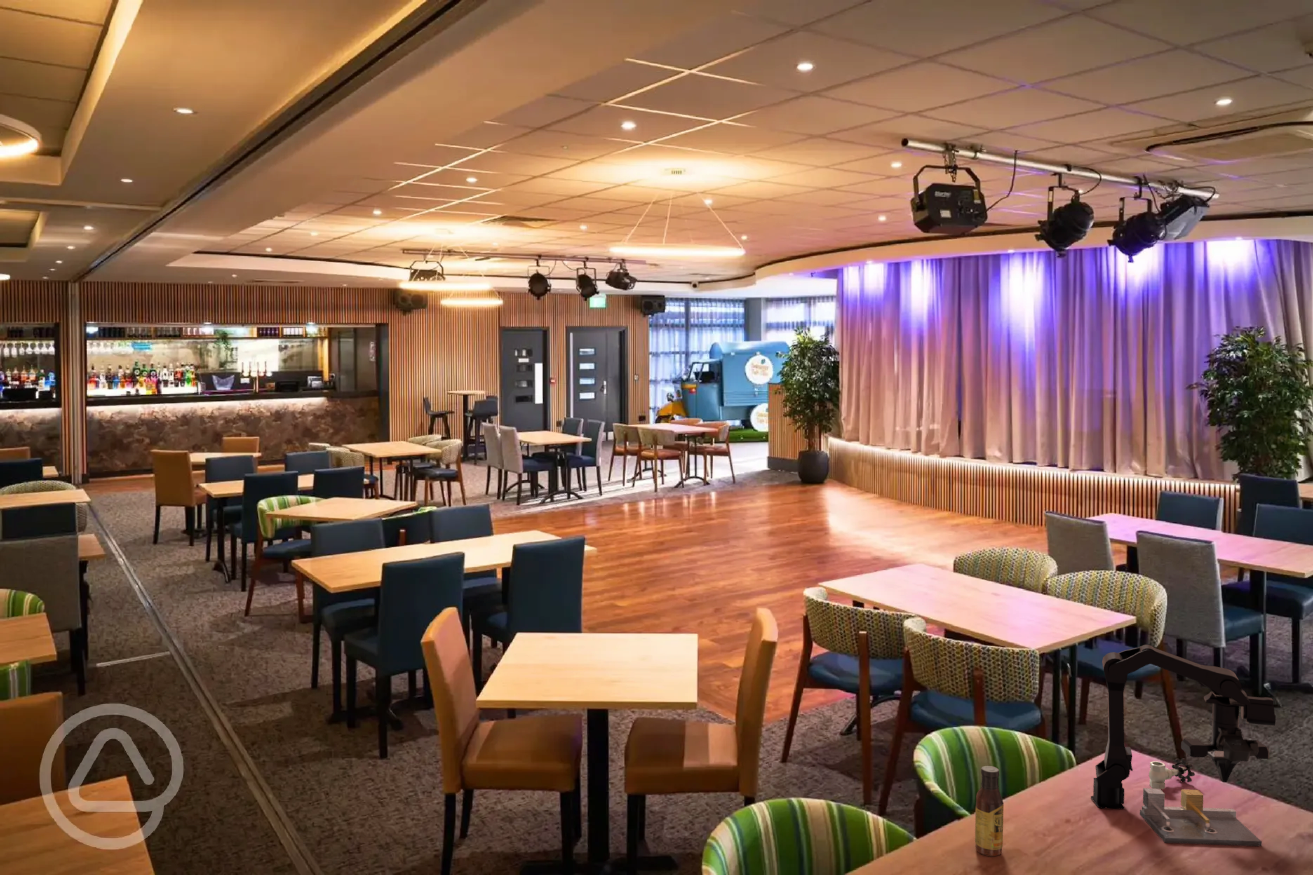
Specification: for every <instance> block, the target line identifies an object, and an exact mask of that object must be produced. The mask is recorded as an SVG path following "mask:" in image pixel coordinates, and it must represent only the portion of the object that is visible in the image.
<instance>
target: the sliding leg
mask: <svg viewBox="0 0 1313 875" xmlns="http://www.w3.org/2000/svg"><path fill="white" fill-rule="evenodd" d="M1180 791H1181V792H1180V805H1181V807H1184V808H1185V809H1186V810H1193V811H1194V812H1195V813H1196V814H1197V815H1198V816H1199V817H1200V818H1201V819H1202V820H1203V821H1204V822H1205V823H1206V830H1209V827H1210V823H1209V821H1210V820H1209V819H1208V818H1207V817H1206V816H1205V815H1204V814H1203V813H1202V812H1201V811H1203V808H1204V794H1203V793H1202V792H1201V791H1200V790H1199V789H1181V790H1180Z"/></svg>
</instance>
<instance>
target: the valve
mask: <svg viewBox="0 0 1313 875" xmlns="http://www.w3.org/2000/svg"><path fill="white" fill-rule="evenodd" d="M1174 762H1175V763H1174V764H1172V765H1171V769H1170V768H1168V767H1166V765H1165V763H1163V762H1161V761H1157V760H1155V761H1150V763H1149V768H1150V769H1149V771H1148V777H1149V786H1150V788H1153V789H1160V790H1161V789H1162V790H1165V789H1166V781H1167V780H1170V779H1171V780H1172V777H1173V776H1174V777H1176V778H1177V777H1178V779H1179V782H1181V781H1182V782H1181V783H1185V782H1187V783H1192V782H1193V779H1192V778H1191V777H1195V772H1194V771H1191V769H1193V764H1191V763H1187V758H1175V759H1174ZM1180 765H1183V766H1180ZM1186 773H1187V775H1186V776H1185V775H1184V774H1186ZM1164 788H1165V789H1164ZM1162 790H1161V791H1162Z"/></svg>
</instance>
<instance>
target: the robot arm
mask: <svg viewBox="0 0 1313 875" xmlns="http://www.w3.org/2000/svg"><path fill="white" fill-rule="evenodd" d="M1101 662H1102V668H1103V673H1104V678H1105V682H1106V683H1105V684H1106V687H1107V719H1108V720H1107V721H1108V722H1107V723H1108V724H1107V725H1108V732H1107V733H1108V739H1107V744H1106V747H1105V752H1104V758H1103V760H1101V761H1100V762H1098V763H1097V764H1096V765H1095V768H1094V769H1095V776H1096V777H1093V788H1092V790H1093V794H1092V795H1091V796H1090V799H1091V801H1092V802H1093V803H1094V804H1095V805H1096V807H1097V808H1098V809H1110V810H1113V809H1114V810H1125V805H1124V804H1125V788H1124V787H1123V783H1122V782H1123V781H1125V780H1127V779H1128V778H1129V777H1130V772H1134V771H1133V770H1134V769H1133V764H1132V761H1133V753H1132V747H1131V746H1126V745H1125V712H1124V710H1125V707H1124V705H1125V704H1124V701H1125V700H1124V693H1125V689H1126V685H1127V682H1128V681H1127V680H1128V675H1129V674H1132V673H1134V672H1136V671H1138V670H1141V668H1144V667H1146V666H1148V665H1153V666H1155V667H1158V668H1160V669H1163V670H1166V671H1168V672H1171V673H1173V674H1177V675H1179V676H1182V677H1185V678H1188V679H1190V680H1193V681H1196V682H1198V683H1199V684H1202V685H1203V686H1204V687H1206V688H1207V689H1209V690H1210V692H1209V693H1208V694H1205V695H1204V696H1203V699H1204V701H1205V703H1206V704H1212V712H1211V713H1212V715H1211V717H1212V720H1209V725H1210V726H1211V736H1209V741H1210V742H1211V743H1204V742H1203V741H1201V740H1200V739H1199V738H1183V739H1182V741H1181V744H1180V748H1181V750H1182V751H1183V752H1185V753H1186V754H1187V755H1188V756H1189V757H1192V758H1206V757H1207V756H1208V757H1210V759H1211V760H1212V761H1213V764H1214V767H1215V769H1216V771H1217V773H1218V777H1219V779H1220V780H1221V782H1222V783H1227V782H1228V780H1229V778H1230V776H1231V774H1232V772H1233V770H1234V768H1235V766H1236V765H1237V764H1239V763H1240V762H1244V763H1245V762H1246V763H1247V762H1249V760H1250V757H1254V758H1256V759H1257V760H1259V759H1260V760H1269V759H1270V753H1271V752H1270V749H1269V748H1268V747H1267V746H1266V745H1265V744H1264V743H1262V741H1259V740H1257V739H1247V738H1245V739H1244V737H1243V735H1242V734H1243V733H1242V729H1241V728H1240V726H1239V725H1240V717H1241V720H1245V721H1246V724H1247V725H1254V726H1255V725H1256V726H1265V727H1275V726H1276V718H1277V715H1276V712H1275V707H1274V706H1275V705H1274V699H1273V698H1272V697H1267V696H1266V697H1264V696H1263V697H1259V696H1258V697H1257V696H1248V695H1247V693H1246V692H1245V690H1243V689H1242V683H1241V681H1240V680H1239V678H1238V676H1237V675H1236V673H1235V672H1234V671H1233V670H1230V669H1228V668H1223V667H1220V666H1219V667H1218V666H1215V665H1214V666H1213V665H1203V664H1199V663H1197V662H1194V661H1191V660H1189V659H1187V658H1183V657H1180V656H1177V655H1175V654H1172V653H1170V652H1167V651H1164V650H1161V649H1158V648H1156V647H1154V646H1152V645H1150V644H1143V645H1141V646H1137V647H1135V648H1130V649H1129V648H1128V649H1125V650H1122V651H1120V652H1119V651H1118V652H1113V651H1111V652H1108V653H1106V654H1105V655H1104V656H1103V657H1102V661H1101ZM1215 693H1216V694H1215Z"/></svg>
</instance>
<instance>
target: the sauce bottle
mask: <svg viewBox="0 0 1313 875" xmlns="http://www.w3.org/2000/svg"><path fill="white" fill-rule="evenodd" d="M980 774H981V783H980V784H981V787H980V789H979V790H978V791H977V792H976V797H975V801H976V802H975V814H974V815H975V818H974V820H975V821H974V822H975V824H974V826H975V827H974V843H975V846H974V847H975V850H976V851H977V852H978V853H979V854H981V855H983V856H988V857H996V856H1000V855H1001V854H1003V853H1002V852H1003V847H1004V801H1003V797H1002V794H1001V792H1000V789H999V788H1000V787H999V777H1000V769H999V768H997V767H995V766H991V765H984V766H983V765H982V767H981V768H980Z"/></svg>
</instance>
